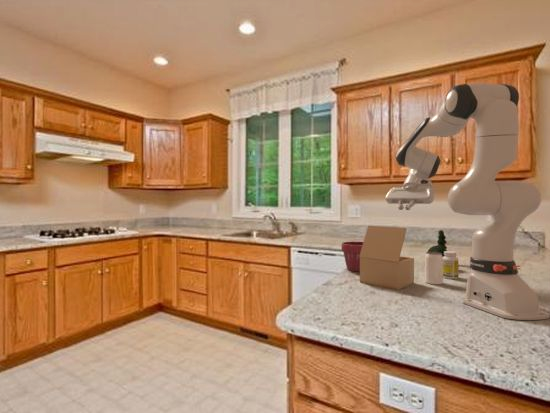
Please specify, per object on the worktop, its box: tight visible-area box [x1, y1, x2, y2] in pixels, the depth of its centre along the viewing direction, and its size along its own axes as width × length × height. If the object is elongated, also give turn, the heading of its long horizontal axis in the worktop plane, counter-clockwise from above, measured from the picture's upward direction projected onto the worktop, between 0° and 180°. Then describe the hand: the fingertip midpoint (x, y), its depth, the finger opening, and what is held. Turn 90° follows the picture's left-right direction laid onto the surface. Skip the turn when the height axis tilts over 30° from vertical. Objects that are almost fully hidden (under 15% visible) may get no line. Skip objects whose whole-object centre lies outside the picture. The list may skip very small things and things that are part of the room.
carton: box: [359, 255, 415, 290], centre depth 130 cm, size 14×16×10 cm
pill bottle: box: [443, 250, 459, 280], centre depth 138 cm, size 6×6×11 cm
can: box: [424, 251, 444, 286], centre depth 129 cm, size 6×6×12 cm
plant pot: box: [341, 241, 364, 272], centre depth 154 cm, size 14×14×13 cm
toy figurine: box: [427, 229, 448, 257], centre depth 161 cm, size 9×19×25 cm
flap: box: [359, 225, 407, 262], centre depth 127 cm, size 14×16×1 cm
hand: (403, 208), depth 140 cm, fingers closed
